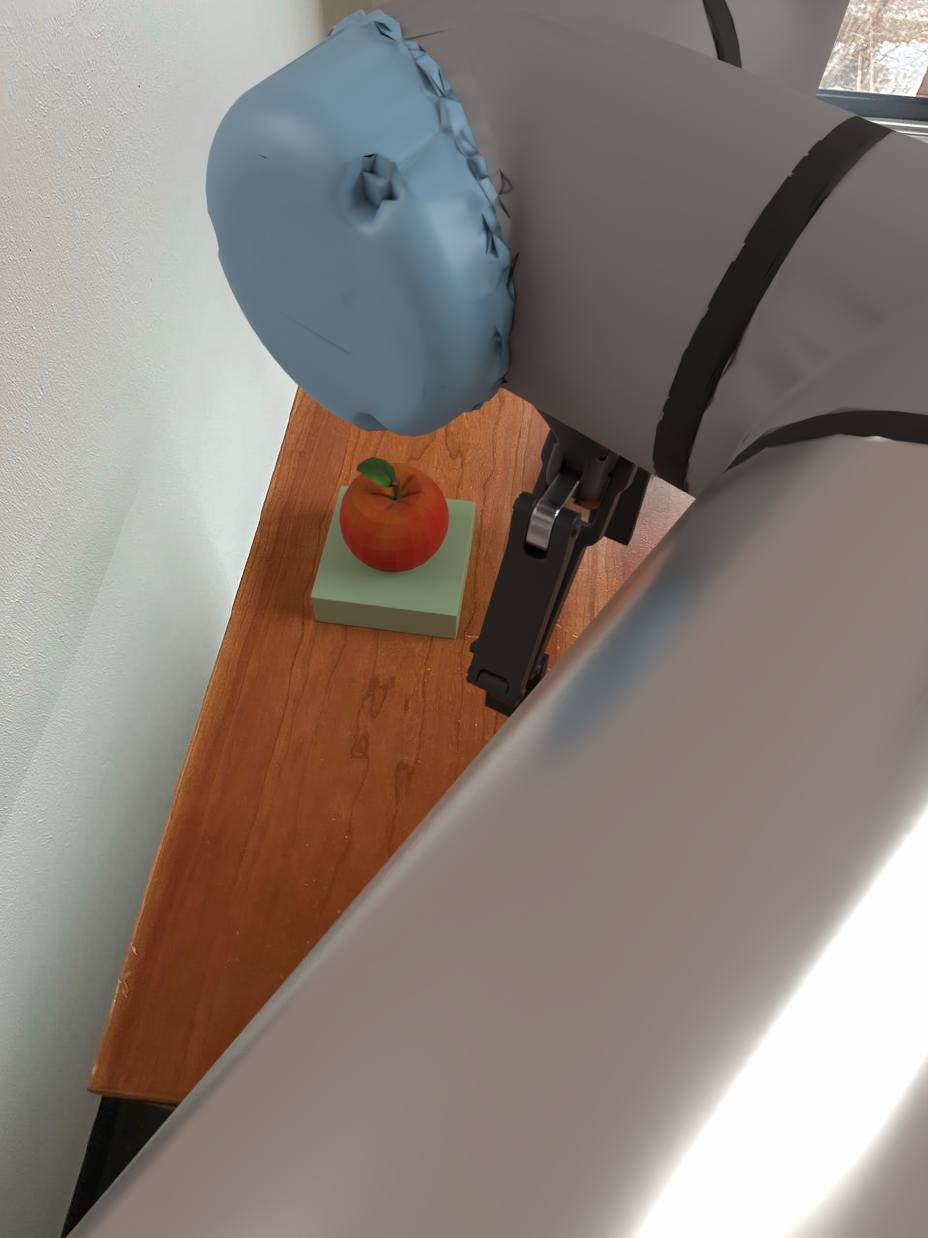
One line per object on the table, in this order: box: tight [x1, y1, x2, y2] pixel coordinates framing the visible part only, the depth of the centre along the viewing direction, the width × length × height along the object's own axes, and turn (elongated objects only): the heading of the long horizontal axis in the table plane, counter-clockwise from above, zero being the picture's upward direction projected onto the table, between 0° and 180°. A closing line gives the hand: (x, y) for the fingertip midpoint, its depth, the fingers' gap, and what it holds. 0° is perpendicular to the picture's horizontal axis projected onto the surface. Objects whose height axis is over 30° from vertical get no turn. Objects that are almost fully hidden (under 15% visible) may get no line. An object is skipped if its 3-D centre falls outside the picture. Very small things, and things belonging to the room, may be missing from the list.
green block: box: [310, 485, 477, 640], centre depth 83 cm, size 13×13×4 cm
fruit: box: [339, 456, 449, 572], centre depth 77 cm, size 10×10×10 cm
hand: (562, 616), depth 51 cm, fingers open, 13 cm apart
